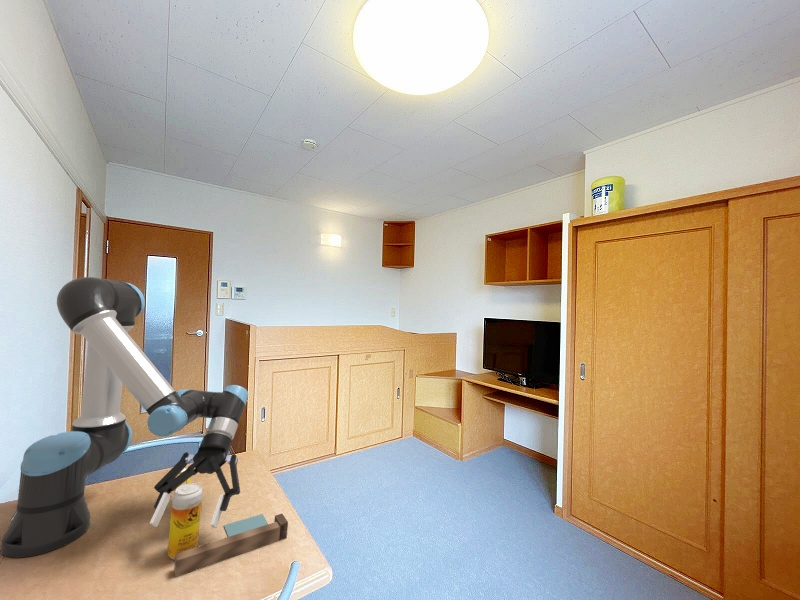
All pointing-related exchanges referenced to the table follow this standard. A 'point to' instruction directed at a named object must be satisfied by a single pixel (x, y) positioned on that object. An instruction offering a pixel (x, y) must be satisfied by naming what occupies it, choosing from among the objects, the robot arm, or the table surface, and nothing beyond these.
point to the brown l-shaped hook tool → (230, 546)
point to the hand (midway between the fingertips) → (183, 525)
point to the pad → (245, 525)
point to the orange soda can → (184, 519)
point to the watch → (186, 480)
